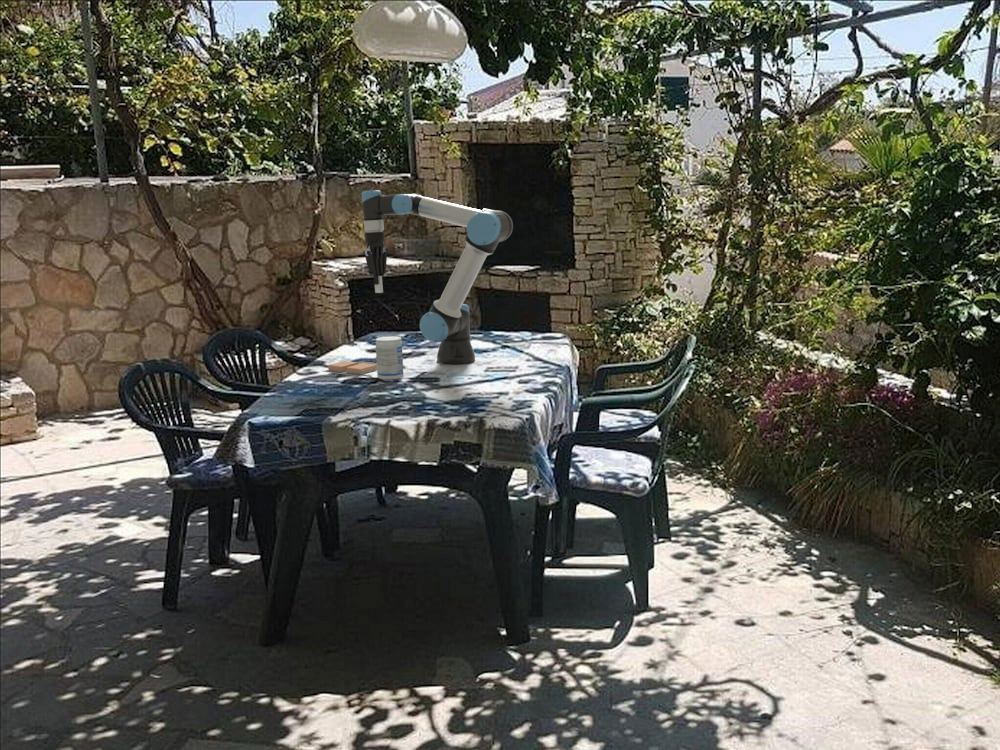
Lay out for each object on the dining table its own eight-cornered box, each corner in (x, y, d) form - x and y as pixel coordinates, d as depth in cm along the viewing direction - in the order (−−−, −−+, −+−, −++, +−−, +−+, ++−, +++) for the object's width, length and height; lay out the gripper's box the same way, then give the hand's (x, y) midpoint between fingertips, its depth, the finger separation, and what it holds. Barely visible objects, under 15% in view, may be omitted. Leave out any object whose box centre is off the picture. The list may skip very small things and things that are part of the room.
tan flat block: (357, 362, 340) (341, 366, 332) (358, 367, 340) (342, 371, 333) (344, 360, 343) (328, 364, 336) (344, 365, 344) (328, 370, 336)
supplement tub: (405, 379, 319) (403, 339, 316) (378, 381, 317) (376, 341, 314) (401, 374, 328) (400, 335, 325) (376, 375, 326) (374, 336, 323)
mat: (394, 366, 343) (394, 365, 343) (356, 377, 325) (356, 376, 325) (361, 362, 352) (361, 361, 352) (322, 372, 334) (322, 371, 334)
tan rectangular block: (376, 364, 335) (360, 369, 327) (376, 369, 335) (361, 374, 328) (362, 363, 338) (346, 367, 331) (362, 368, 339) (346, 372, 331)
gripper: (377, 230, 346) (381, 290, 351) (355, 232, 335) (361, 294, 340) (392, 230, 342) (397, 290, 347) (371, 232, 331) (376, 294, 336)
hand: (379, 292), depth 343 cm, fingers closed
